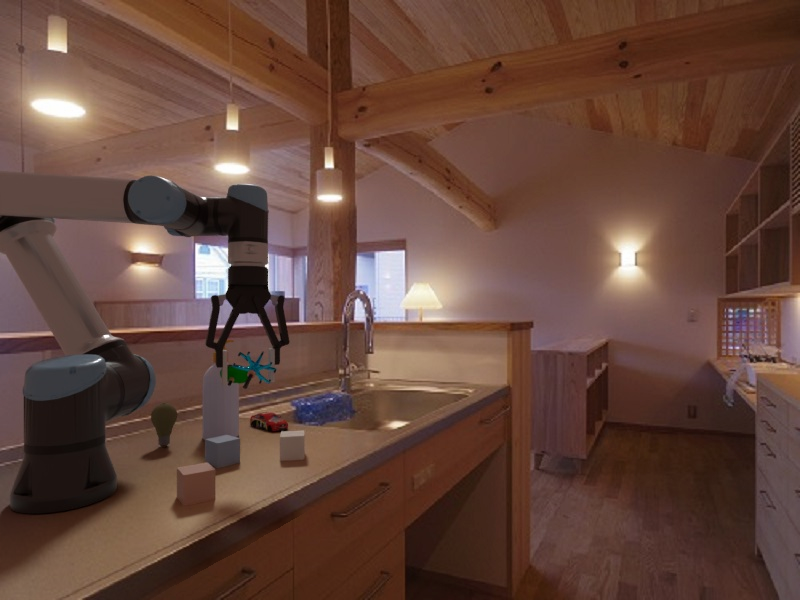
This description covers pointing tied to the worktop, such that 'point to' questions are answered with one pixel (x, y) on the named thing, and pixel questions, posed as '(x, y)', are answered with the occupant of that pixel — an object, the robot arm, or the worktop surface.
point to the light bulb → (164, 422)
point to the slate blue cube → (222, 451)
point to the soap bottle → (219, 404)
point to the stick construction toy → (247, 371)
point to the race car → (268, 421)
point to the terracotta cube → (195, 483)
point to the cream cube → (292, 445)
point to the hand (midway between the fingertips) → (248, 383)
